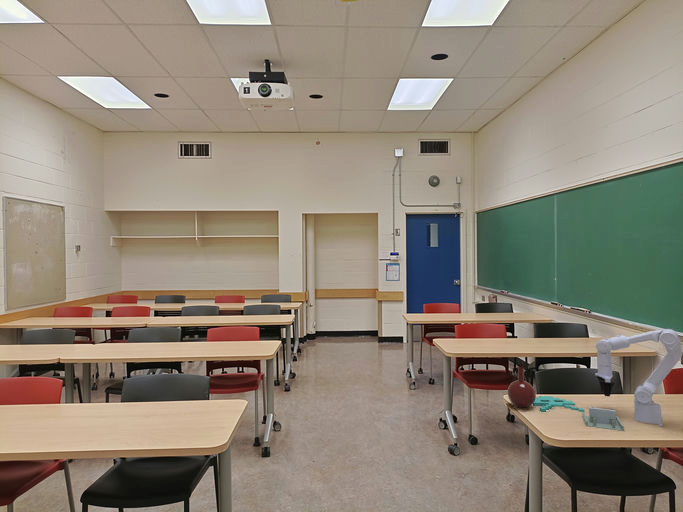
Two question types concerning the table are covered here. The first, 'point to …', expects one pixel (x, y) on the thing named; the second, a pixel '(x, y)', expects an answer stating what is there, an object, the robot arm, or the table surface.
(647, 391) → the robot arm
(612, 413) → the long pale grey plank
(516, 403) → the round-bottom flask
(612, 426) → the rack
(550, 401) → the teal pixel shape
